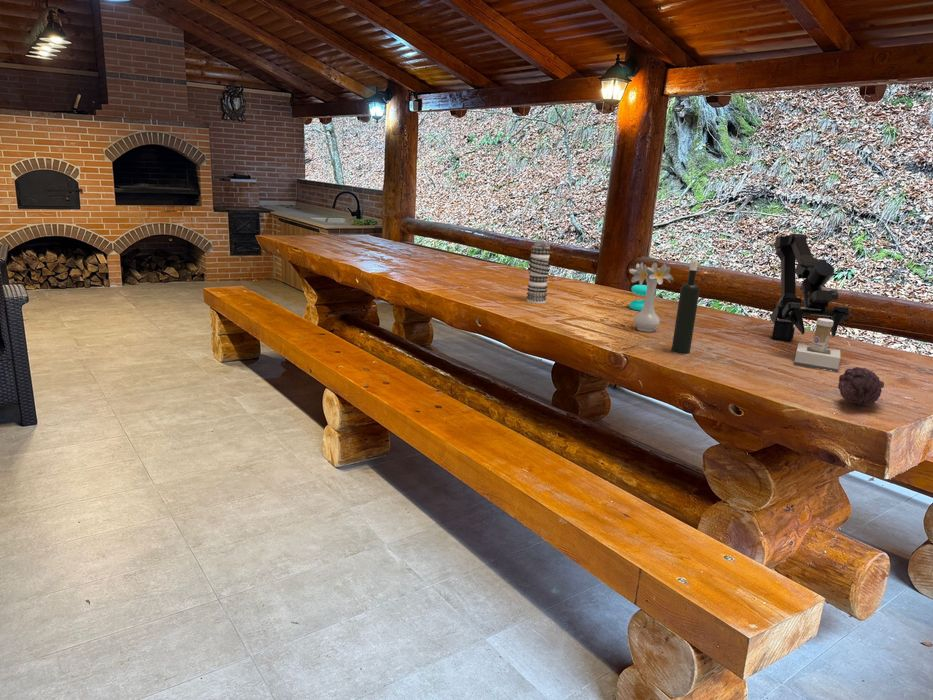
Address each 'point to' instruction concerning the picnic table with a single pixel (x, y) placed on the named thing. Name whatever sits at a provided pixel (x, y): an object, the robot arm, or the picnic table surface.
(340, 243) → the picnic table surface
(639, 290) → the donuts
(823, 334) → the sprinkles bottle
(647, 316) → the flower vase
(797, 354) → the socket block
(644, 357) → the picnic table surface
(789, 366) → the picnic table surface
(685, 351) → the wine bottle
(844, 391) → the pine cone
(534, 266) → the decorative candle
